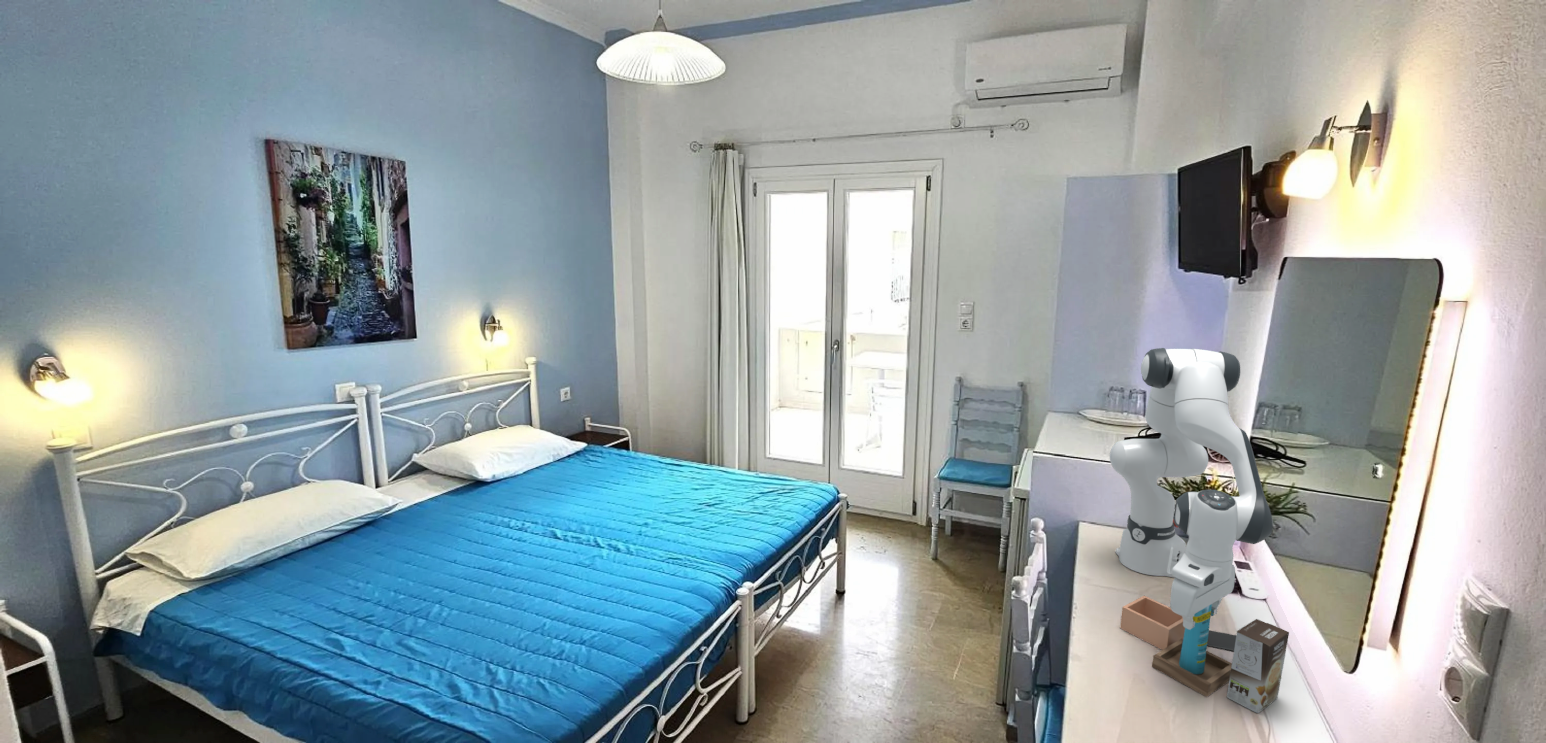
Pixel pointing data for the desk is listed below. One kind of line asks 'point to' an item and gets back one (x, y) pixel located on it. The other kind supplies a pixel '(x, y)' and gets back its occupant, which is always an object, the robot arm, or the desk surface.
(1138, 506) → the robot arm
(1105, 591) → the desk surface
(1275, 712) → the desk surface
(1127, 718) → the desk surface
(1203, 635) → the tube
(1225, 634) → the smartphone
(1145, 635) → the pink open box
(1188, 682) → the tray
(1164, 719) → the desk surface
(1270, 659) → the coffee box
